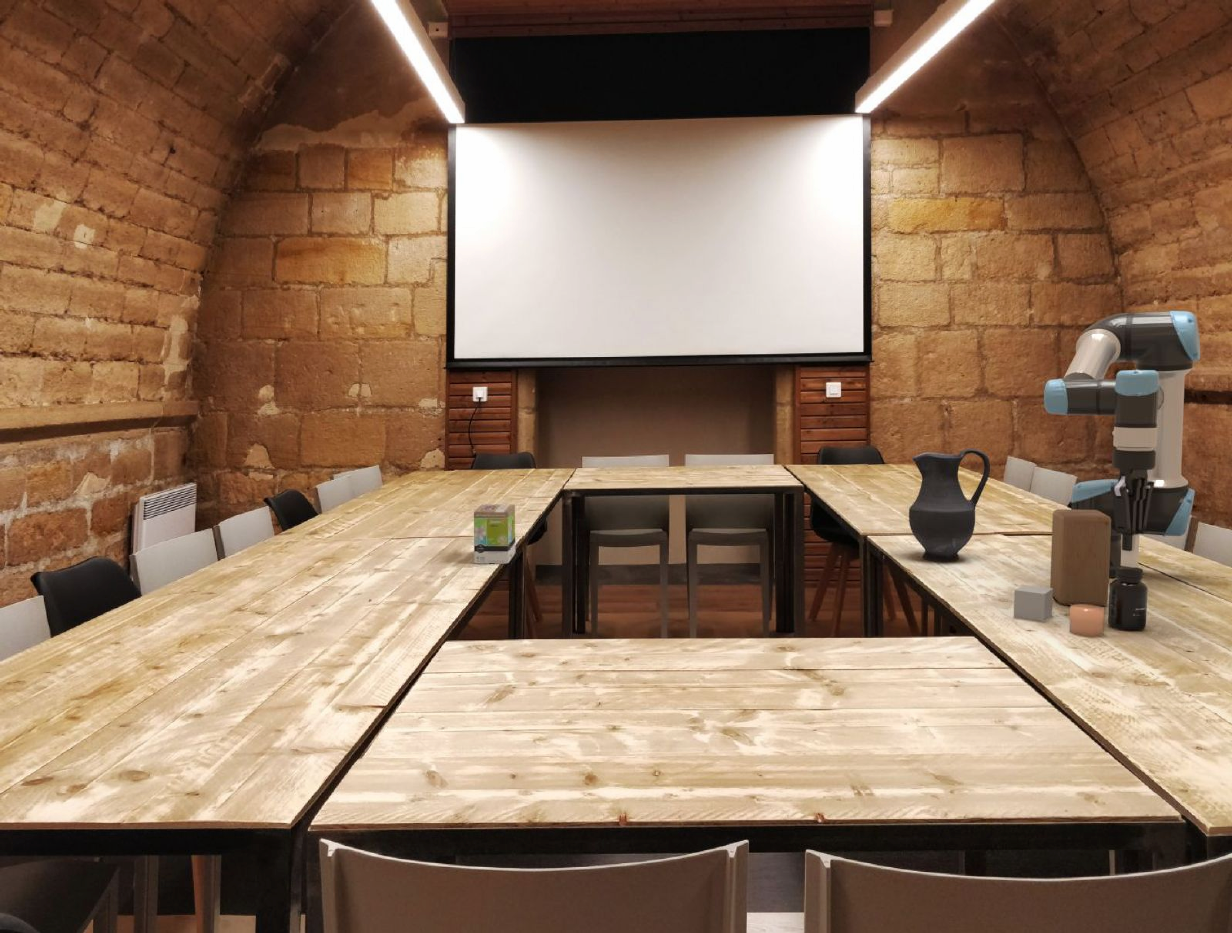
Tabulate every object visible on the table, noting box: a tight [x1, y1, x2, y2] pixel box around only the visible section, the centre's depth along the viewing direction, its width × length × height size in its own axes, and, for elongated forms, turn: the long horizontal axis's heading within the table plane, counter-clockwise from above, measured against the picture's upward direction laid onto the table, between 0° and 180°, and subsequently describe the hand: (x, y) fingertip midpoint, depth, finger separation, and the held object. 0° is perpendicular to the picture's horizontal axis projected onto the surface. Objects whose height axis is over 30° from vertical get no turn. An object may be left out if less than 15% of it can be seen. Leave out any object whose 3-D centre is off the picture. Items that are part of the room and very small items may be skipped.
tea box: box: [473, 504, 516, 565], centre depth 271 cm, size 15×10×15 cm
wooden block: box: [1049, 508, 1111, 607], centre depth 214 cm, size 10×10×20 cm
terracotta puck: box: [1069, 604, 1105, 638], centre depth 190 cm, size 6×6×5 cm
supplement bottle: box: [1107, 566, 1149, 632], centre depth 193 cm, size 7×7×12 cm
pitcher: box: [908, 448, 991, 563], centre depth 261 cm, size 17×21×30 cm
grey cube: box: [1013, 584, 1054, 623], centre depth 202 cm, size 6×6×6 cm
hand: (1129, 566), depth 193 cm, fingers closed
